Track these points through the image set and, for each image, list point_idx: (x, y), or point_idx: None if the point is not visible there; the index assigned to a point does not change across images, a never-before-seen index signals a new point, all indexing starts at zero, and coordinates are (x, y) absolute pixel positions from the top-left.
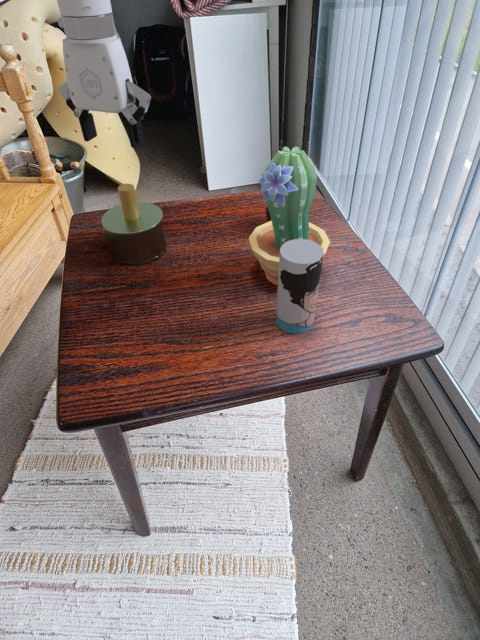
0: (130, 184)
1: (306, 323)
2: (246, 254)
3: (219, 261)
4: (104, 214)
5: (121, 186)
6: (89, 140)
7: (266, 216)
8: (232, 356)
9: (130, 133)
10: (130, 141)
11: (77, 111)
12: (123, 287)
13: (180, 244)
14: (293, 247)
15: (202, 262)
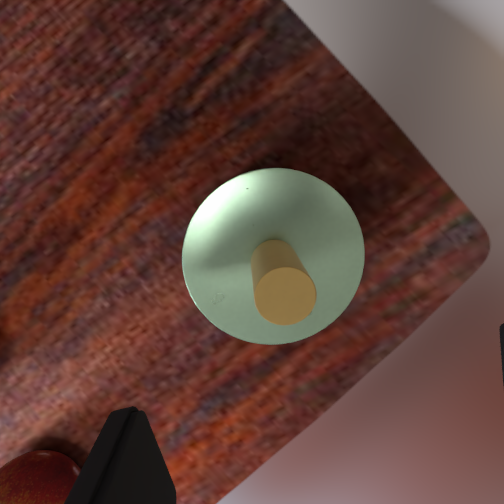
0: (286, 321)
1: None
2: (49, 350)
3: (78, 300)
4: (357, 225)
5: (304, 292)
6: (500, 335)
7: (72, 472)
8: None
9: (77, 498)
10: (127, 438)
11: None
12: (187, 102)
13: None
14: None
15: (106, 277)
